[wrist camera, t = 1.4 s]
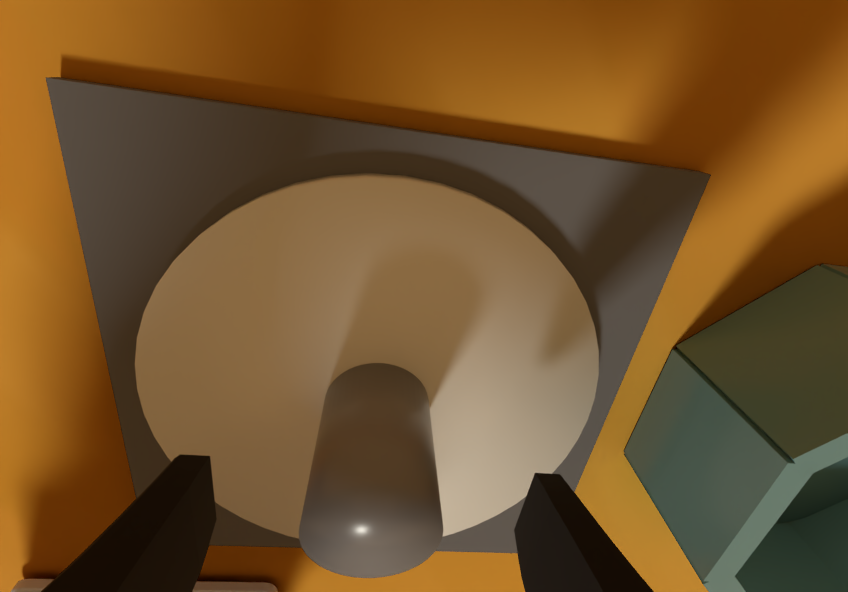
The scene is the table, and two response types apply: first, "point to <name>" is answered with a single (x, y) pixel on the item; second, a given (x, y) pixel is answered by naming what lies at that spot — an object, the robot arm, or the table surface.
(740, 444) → the bowl
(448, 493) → the lid
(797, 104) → the table surface
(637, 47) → the table surface
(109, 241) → the mat
